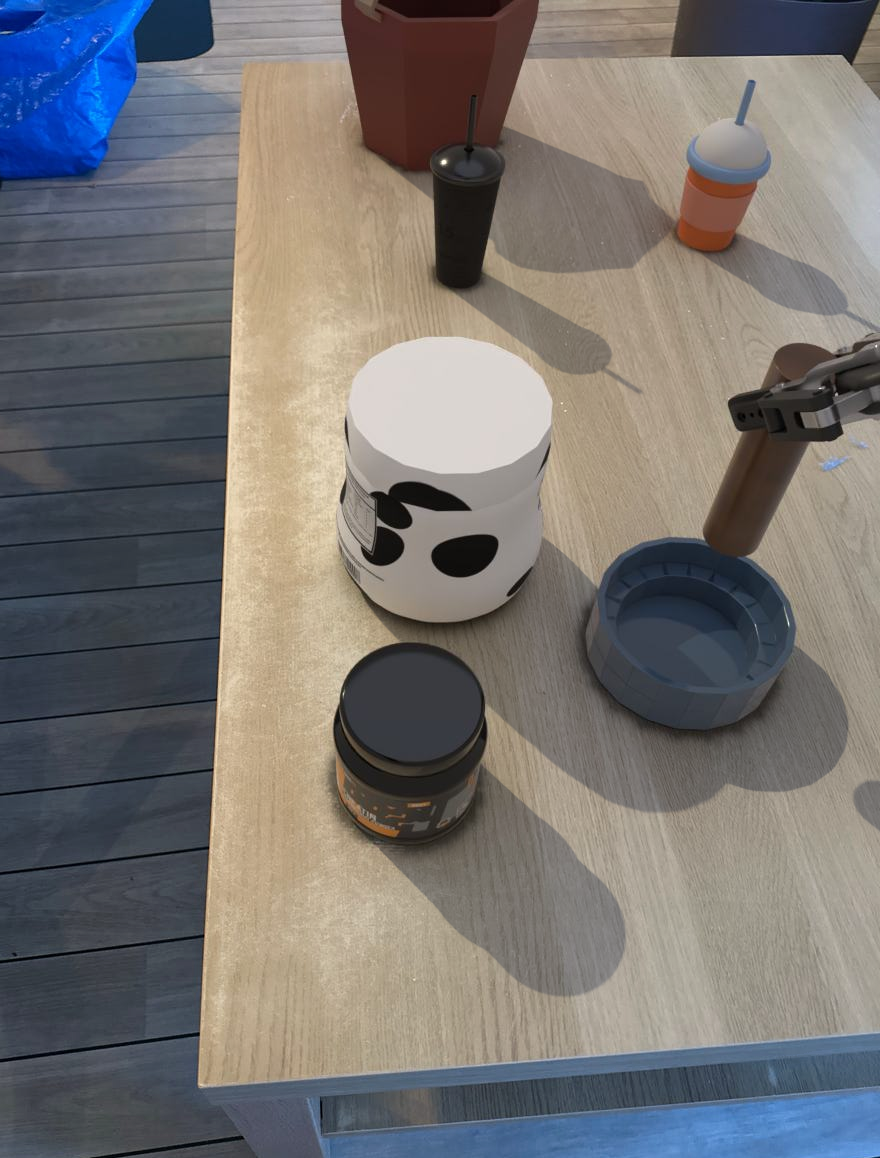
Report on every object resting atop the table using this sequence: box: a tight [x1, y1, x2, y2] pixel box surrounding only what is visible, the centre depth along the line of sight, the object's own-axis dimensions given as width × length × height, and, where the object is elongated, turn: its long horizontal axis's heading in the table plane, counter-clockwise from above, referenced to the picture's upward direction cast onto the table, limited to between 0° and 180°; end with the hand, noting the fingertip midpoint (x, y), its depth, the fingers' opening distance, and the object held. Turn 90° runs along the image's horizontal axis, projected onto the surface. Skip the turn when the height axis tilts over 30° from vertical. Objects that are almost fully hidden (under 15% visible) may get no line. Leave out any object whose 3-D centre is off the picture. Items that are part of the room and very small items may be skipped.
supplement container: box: [332, 641, 489, 845], centre depth 69 cm, size 10×10×12 cm
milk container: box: [335, 336, 554, 624], centre depth 80 cm, size 17×17×18 cm
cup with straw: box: [677, 79, 772, 252], centre depth 109 cm, size 9×9×18 cm
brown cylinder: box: [702, 342, 837, 557], centre depth 64 cm, size 4×4×15 cm
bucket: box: [340, 0, 540, 172], centre depth 117 cm, size 24×22×25 cm
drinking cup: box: [430, 94, 507, 290], centre depth 103 cm, size 8×8×20 cm
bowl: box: [584, 536, 797, 731], centre depth 79 cm, size 15×15×6 cm
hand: (760, 399), depth 62 cm, fingers closed on brown cylinder, 4 cm apart
